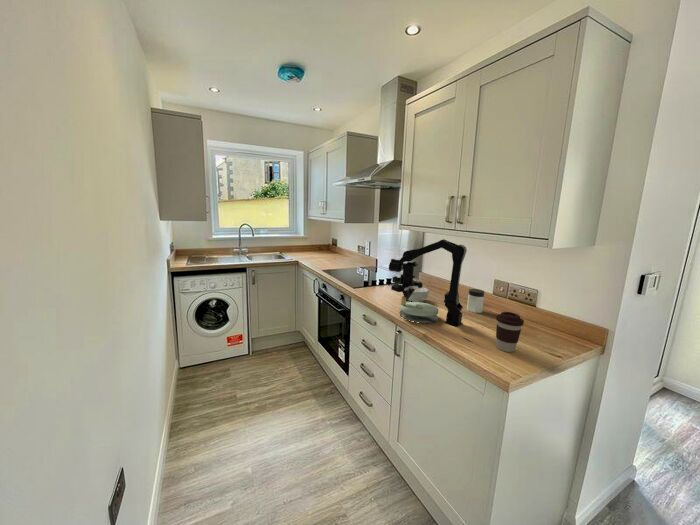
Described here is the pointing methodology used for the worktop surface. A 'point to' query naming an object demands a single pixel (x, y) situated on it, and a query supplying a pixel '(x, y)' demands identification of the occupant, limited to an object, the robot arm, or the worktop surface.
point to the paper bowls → (419, 294)
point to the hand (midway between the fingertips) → (406, 301)
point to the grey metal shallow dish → (419, 318)
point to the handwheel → (418, 308)
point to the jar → (475, 300)
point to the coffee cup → (508, 331)
